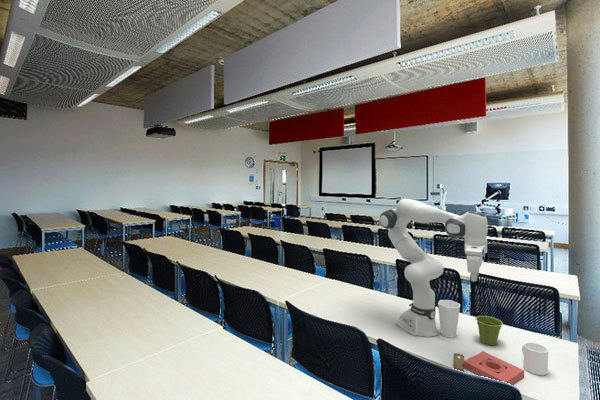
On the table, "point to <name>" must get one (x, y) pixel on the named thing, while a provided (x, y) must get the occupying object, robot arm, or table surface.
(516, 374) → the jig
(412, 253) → the robot arm
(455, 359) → the tan cylinder plug
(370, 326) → the table surface
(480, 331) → the plant pot
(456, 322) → the cup
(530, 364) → the mug
